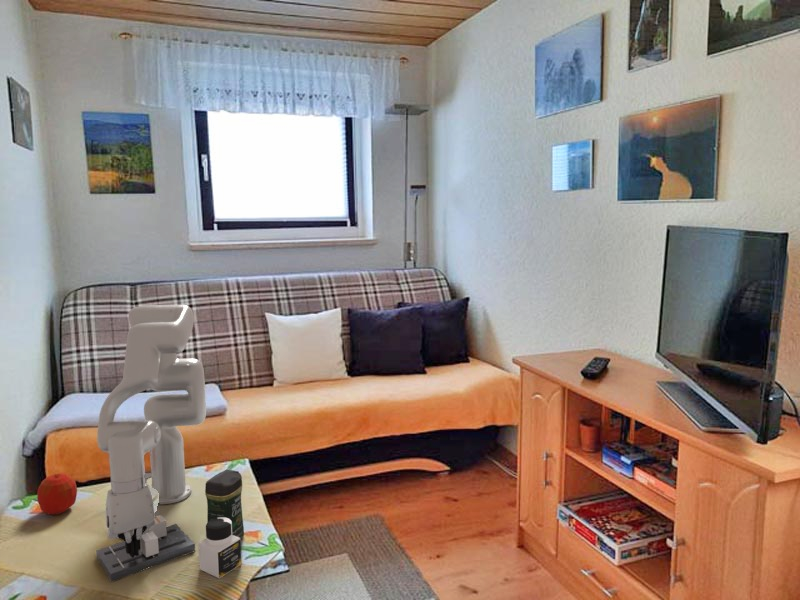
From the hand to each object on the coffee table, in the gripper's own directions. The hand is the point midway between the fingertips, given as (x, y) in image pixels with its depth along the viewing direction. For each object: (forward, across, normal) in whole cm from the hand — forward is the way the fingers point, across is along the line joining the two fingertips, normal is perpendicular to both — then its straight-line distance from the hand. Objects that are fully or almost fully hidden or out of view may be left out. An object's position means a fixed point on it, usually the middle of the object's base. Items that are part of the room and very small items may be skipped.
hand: (133, 554), depth 146 cm
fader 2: (+1, -8, -7) cm, 11 cm away
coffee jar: (+4, -22, +4) cm, 23 cm away
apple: (+4, +8, -43) cm, 44 cm away
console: (+3, -4, -4) cm, 6 cm away
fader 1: (+1, -4, 0) cm, 4 cm away
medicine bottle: (+4, -16, +14) cm, 22 cm away
